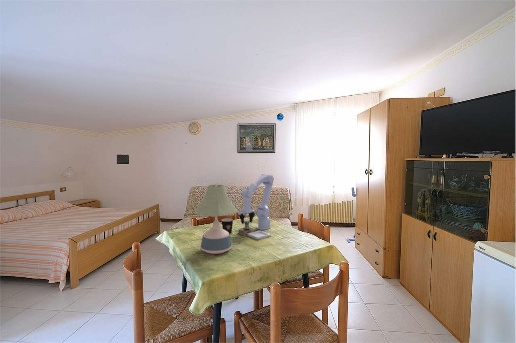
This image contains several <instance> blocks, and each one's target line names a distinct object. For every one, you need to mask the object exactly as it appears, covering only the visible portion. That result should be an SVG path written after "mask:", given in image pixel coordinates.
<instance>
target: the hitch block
mask: <svg viewBox="0 0 516 343" xmlns="http://www.w3.org/2000/svg"><path fill="white" fill-rule="evenodd" d="M251 232H256V229H255V228H253V227H250V226H249V230H247V231H246V230H245V227H241V228H238V230H237V234H239V235H241V236H244V237H246V236H247V237H248V233H251Z"/></svg>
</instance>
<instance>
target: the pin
mask: <svg viewBox="0 0 516 343" xmlns="http://www.w3.org/2000/svg"><path fill="white" fill-rule="evenodd" d="M249 227H250V221H249V220H244V228H245V230H246V231H247V230H249Z"/></svg>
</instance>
